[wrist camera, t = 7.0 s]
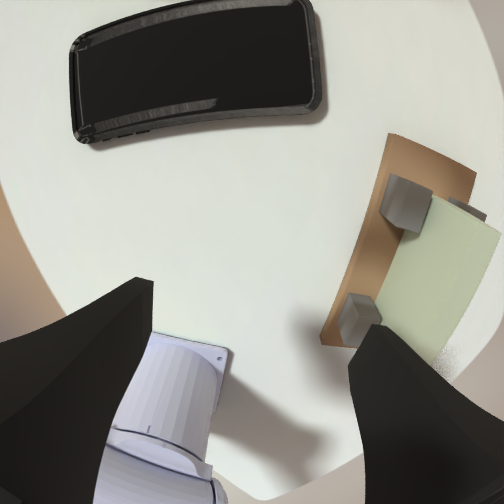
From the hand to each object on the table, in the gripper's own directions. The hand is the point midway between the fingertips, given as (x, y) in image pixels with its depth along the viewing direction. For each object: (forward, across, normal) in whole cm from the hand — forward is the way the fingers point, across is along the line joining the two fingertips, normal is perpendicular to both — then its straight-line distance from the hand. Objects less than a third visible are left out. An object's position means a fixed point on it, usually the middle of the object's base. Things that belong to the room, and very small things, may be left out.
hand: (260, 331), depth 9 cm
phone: (+10, +7, -9) cm, 15 cm away
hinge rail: (+9, -10, 0) cm, 13 cm away
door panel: (+8, -10, 0) cm, 13 cm away
